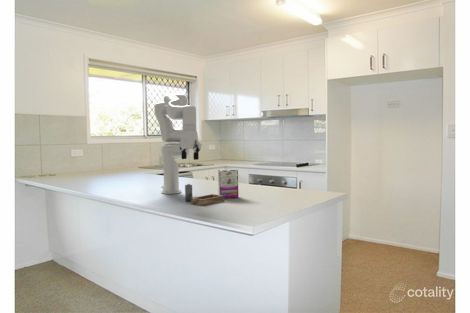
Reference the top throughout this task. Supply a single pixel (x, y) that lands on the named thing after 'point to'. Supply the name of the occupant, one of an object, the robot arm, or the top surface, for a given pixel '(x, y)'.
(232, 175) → the candy bar box
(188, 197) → the battery cell
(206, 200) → the tray
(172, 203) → the top surface
